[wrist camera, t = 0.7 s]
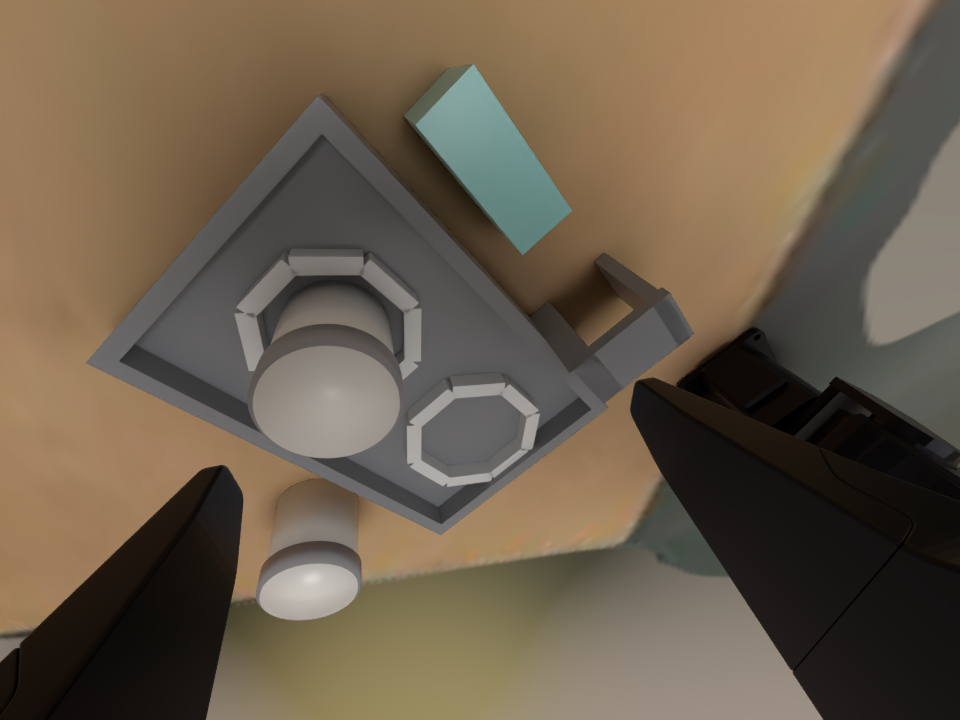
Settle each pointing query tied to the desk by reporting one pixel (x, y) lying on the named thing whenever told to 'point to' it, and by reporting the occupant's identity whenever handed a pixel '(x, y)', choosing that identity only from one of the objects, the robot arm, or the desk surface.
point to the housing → (413, 321)
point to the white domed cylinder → (328, 374)
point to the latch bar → (488, 156)
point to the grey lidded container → (312, 553)
